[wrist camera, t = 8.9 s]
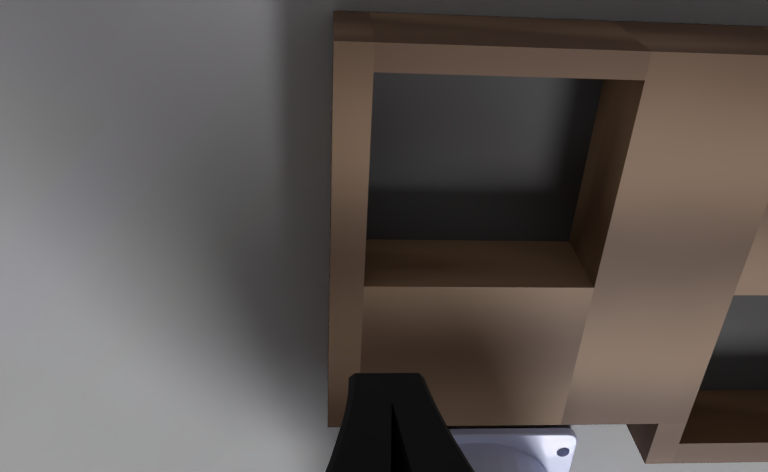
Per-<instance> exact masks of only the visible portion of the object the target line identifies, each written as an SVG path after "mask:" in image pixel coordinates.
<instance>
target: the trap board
mask: <svg viewBox="0 0 768 472" xmlns="http://www.w3.org/2000/svg"><path fill="white" fill-rule="evenodd" d="M354 373H420V374H421V375H422V376H423V377H424V379H425V381H426V384H427V386H428V389H429V391H430V393H431V395H432V397H433V400H434V402H435V404H436V406H437V408H438V410H439V412H440V414H441V415H442V417H443V419H444V421H445V423H446V425H447V426H491V425H588V424H626V425H627V427H628V429H629V431H630V433H631V435H632V437H633V439H634V441H635V444H636V446H637V448H638V450H639V452H640V454H641V456H642V458H643V460H644V462H645V464H656V463H723V462H768V27H764V26H737V25H710V24H682V23H655V22H628V21H601V20H573V19H546V18H519V17H491V16H464V15H437V14H410V13H382V12H355V11H333V72H332V139H331V206H330V273H329V340H328V427H341V424H342V420H343V416H344V412H345V408H346V403H347V397H348V381H349V377H350V376H352V375H353V374H354Z"/></svg>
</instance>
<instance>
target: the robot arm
mask: <svg viewBox="0 0 768 472" xmlns="http://www.w3.org/2000/svg"><path fill="white" fill-rule="evenodd" d="M576 445H577V437H576V435H575V433H574V431H573V430H572V429H570V428H497V429H448V427H447V425H446V423H445V421H444V419H443V417H442V415H441V414H440V412H439V410H438V408H437V406H436V404H435V402H434V400H433V397H432V395H431V393H430V391H429V389H428V386H427V384H426V381H425V379H424V377H423V376H422V375H421V374H420V373H354V374H353V375H352V376H350V377H349V381H348V397H347V403H346V408H345V412H344V416H343V420H342V424H341V428H340V431H339V434H338V437H337V441H336V444H335V447H334V450H333V453H332V456H331V459H330V462H329V464H328V467H327V469H326V472H569V471H570V467H571V463H572V460H573V456H574V452H575V448H576ZM560 448H563V449H560Z"/></svg>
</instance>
